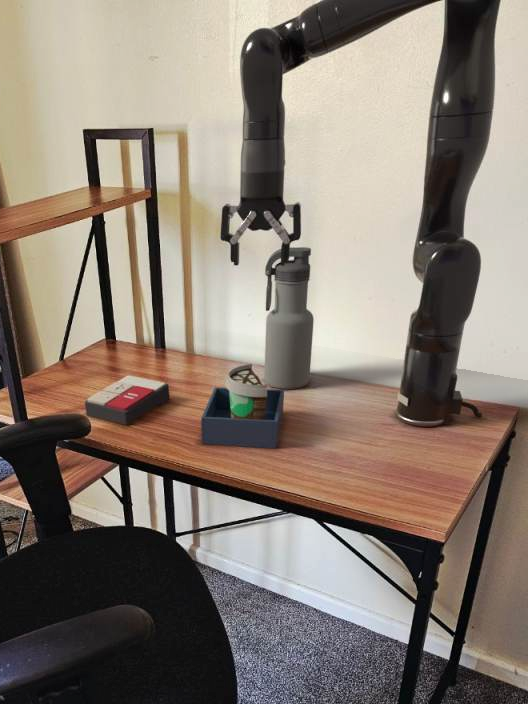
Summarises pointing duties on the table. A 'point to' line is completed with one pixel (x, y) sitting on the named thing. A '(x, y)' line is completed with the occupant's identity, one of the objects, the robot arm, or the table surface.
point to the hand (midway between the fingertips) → (259, 264)
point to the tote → (241, 422)
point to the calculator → (127, 399)
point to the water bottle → (288, 322)
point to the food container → (246, 393)
